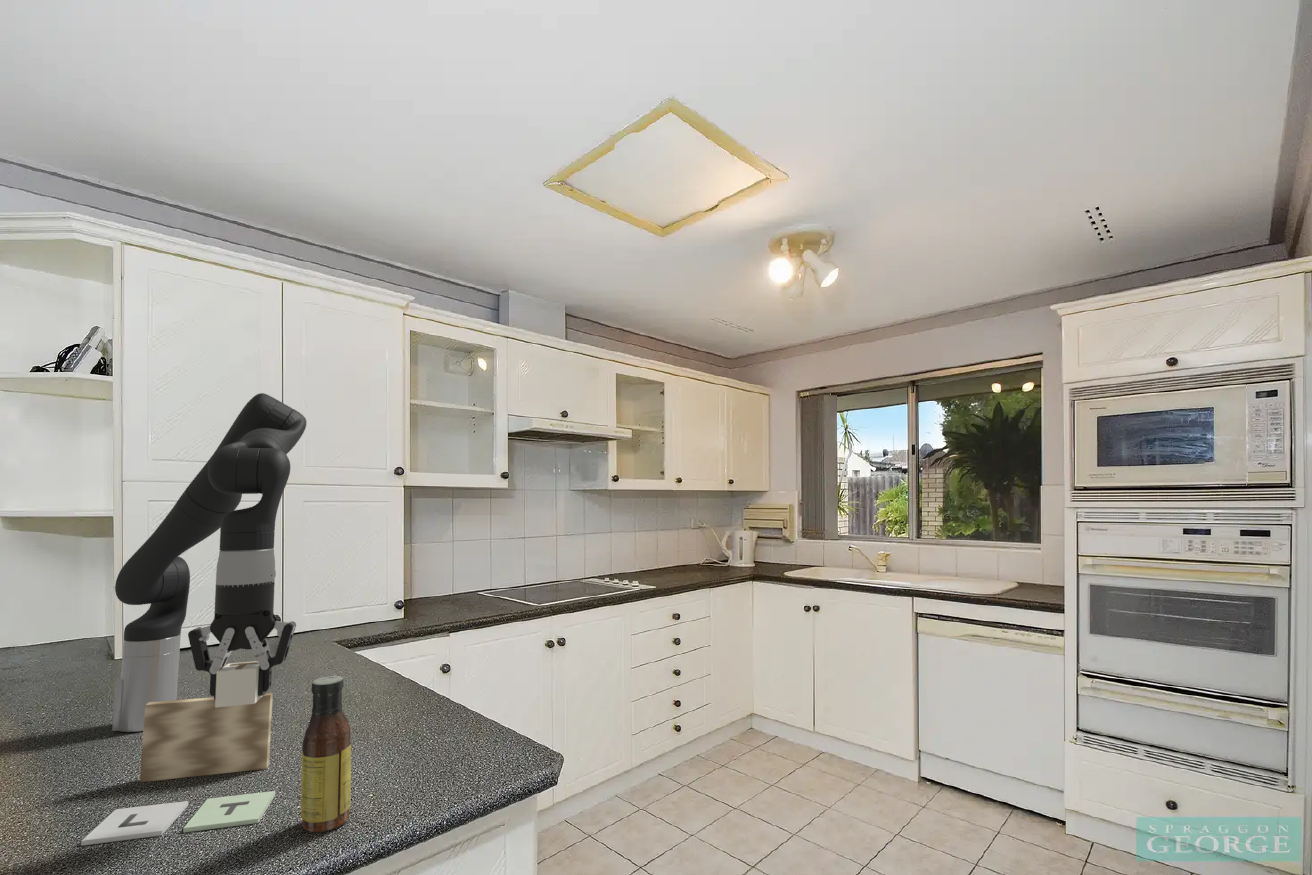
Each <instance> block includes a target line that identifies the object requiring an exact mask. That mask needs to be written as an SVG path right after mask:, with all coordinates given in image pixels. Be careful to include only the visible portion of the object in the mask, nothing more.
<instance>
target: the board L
mask: <svg viewBox="0 0 1312 875" xmlns="http://www.w3.org/2000/svg"><path fill="white" fill-rule="evenodd" d="M188 806H189V800H186V801H184V800H183V801H175V802H169V803H168V802H167V803H161V804H150V805H142V806H132V807H126V808H125V807H124V808H117V809H114V810H113V811H112V812H111V813H110V814H109V815H108V816H107V817H106V818H105V819H103V821H102V822H100V823H99V824H98V825H97V826H96V827H95V828H94V829H93V830H92V831H90V833H88V834H87V835H86V836H85V837H84V838H83V839H82V840H81V841H80V842H81V843H80V846H89V845H96V844H104V843H112V842H120V841H121V842H122V841H128V840H136V839H143V838H151V837H153V838H154V837H160V836H162V835H163V834H165V832H166V831H167V830H168V829H169V828H170V826H171V825H172V824H173V823H174V822H175V821H176V820H177V818H179V817H180V815H181V814H182V813H183V812H184V810H186V808H187V807H188Z"/></svg>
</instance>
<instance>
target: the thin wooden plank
mask: <svg viewBox="0 0 1312 875" xmlns="http://www.w3.org/2000/svg"><path fill="white" fill-rule="evenodd" d="M273 696H274V693H273V692H266V693H265V694H264V695H263V696H262V697H261V698H260V699H259V700H258V701H257V702H256V703H255V704H247V705H237V706H227V707H217V708H215V700H214V696H210V697H201V698H200V697H199V698H187V699H177V700H172V701H159V702H149V703H147V704H146V705H145V714H144V729H143V731H142V745H141V757H140V758H141V763H140V772H139V773H140V774H139V776H140V777H139V783H146V782H152V781H153V782H154V781H155V782H156V781H163V780H172V779H173V780H174V779H182V778H191V777H193V778H194V777H201V776H202V777H203V776H212V775H219V774H229V773H230V774H231V773H241V772H248V771H257V770H267V769H268V768H269V767H270V754H271V753H270V751H271V738H272V737H271V736H272V734H271V733H272V715H273V714H272V713H273Z"/></svg>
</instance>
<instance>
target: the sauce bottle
mask: <svg viewBox="0 0 1312 875" xmlns="http://www.w3.org/2000/svg"><path fill="white" fill-rule="evenodd" d="M344 685H345V683H344V678H343V676H340V675H331V676H323V677H322V676H321V677H318V678H316V679H314V680H313V681H312V682H311V693H312V709H311V717H310V720H309V722H308V725H307V728H306V730H305V733H304V736H303V740H302V744H301V793H300V794H301V795H300V796H301V800H300V801H301V802H300V810H301V811H300V818H301V819H302V823H301V825H302V827H303V830H305V831H307V832H308V833H309V832H310V833H317V834H319V833H320V834H321V833H324V832H327V831H331V830H335V829H337V828H339V827H341V826H344V824H345V823H346V822H347V821H348V820H349V819H350V816H351V815H350V813H351V812H350V808H351V805H352V804H351V798H352V796H351V794H352V793H351V789H352V787H351V786H352V779H351V778H352V741H351V726H350V724H349V719H348V717H347V716H346V715H345V713H344V711H343V704H342V703H343V699H342V698H343V697H342V696H343V694H342V692H343V688H344Z"/></svg>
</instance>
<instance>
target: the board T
mask: <svg viewBox="0 0 1312 875" xmlns="http://www.w3.org/2000/svg"><path fill="white" fill-rule="evenodd" d="M275 796H276V790H273V791H263V792H262V791H261V792H254V793H245V794H238V795H229V796H221V797H219V796H218V797H211V798H207V799H206V800H205V801H204V803H203V804H202V805H201V806H200V807H199V809H198V810H197V811H196V813H194V815H193V816H192V817H191V819H189V821H188V822H187V823H186V824H185V825H184V827H183V830H182V831H183V832H182V833H184V834H185V833H191V832H198V831H200V832H201V831H205V830H208V831H209V830H213V829H214V830H215V829H222V828H229V827H237V826H238V827H239V826H247V825H254V824H255V825H256V824H259V823H260V820H261V819H262V817H263V816H264V814H265V812H266V811H267V809H268V808H269V806H270V805H271V803H272V801H273V799H274V798H275Z"/></svg>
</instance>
